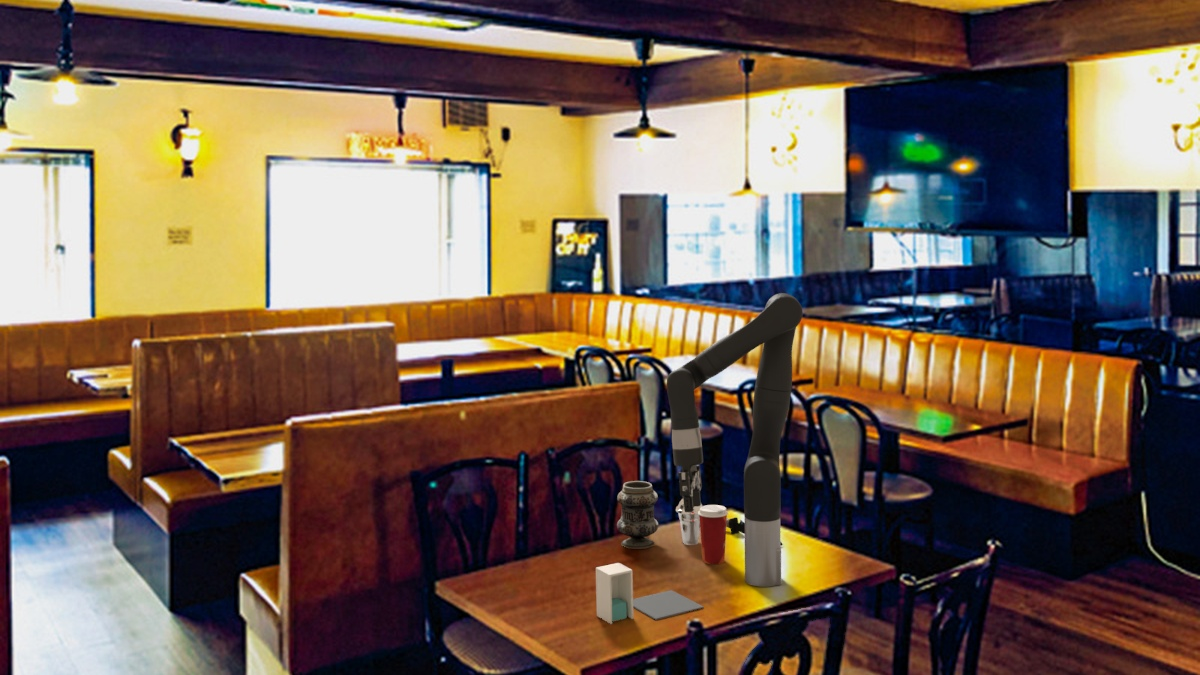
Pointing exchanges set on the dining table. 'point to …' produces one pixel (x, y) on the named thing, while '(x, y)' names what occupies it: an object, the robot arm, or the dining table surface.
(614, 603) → the block
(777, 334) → the robot arm
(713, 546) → the coffee cup
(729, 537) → the dining table surface
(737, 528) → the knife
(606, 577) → the cream rectangular box
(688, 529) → the cup with straw
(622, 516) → the apothecary jar
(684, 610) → the mat
